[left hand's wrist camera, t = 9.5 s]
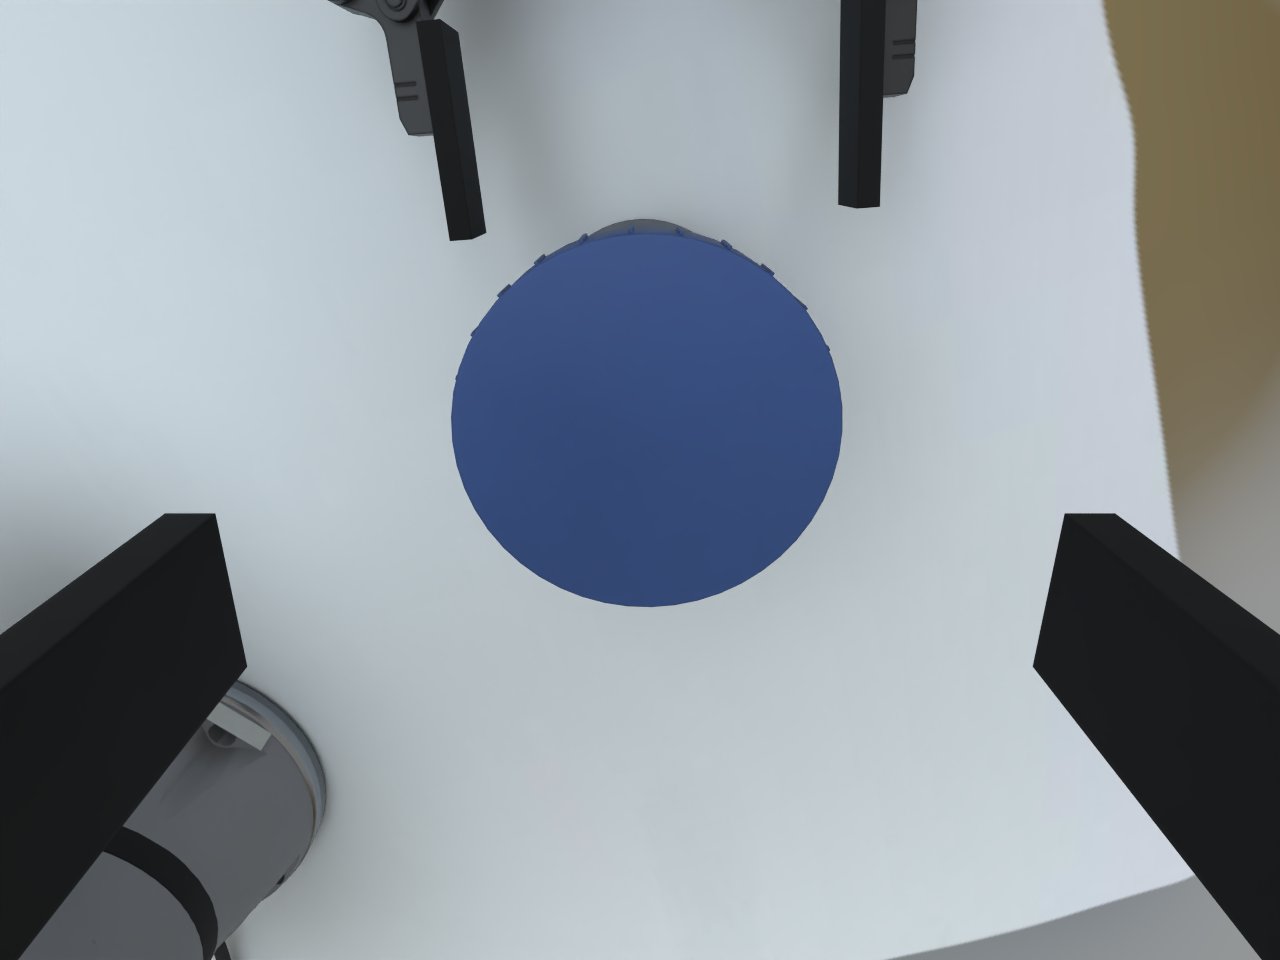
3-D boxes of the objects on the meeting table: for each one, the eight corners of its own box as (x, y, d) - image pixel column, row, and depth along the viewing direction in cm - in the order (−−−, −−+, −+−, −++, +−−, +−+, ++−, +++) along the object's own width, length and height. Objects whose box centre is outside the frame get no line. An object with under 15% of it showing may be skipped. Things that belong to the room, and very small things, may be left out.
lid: (897, 436, 23) (921, 462, 21) (621, 631, 25) (619, 671, 23) (677, 137, 20) (681, 134, 18) (389, 388, 22) (364, 410, 20)
